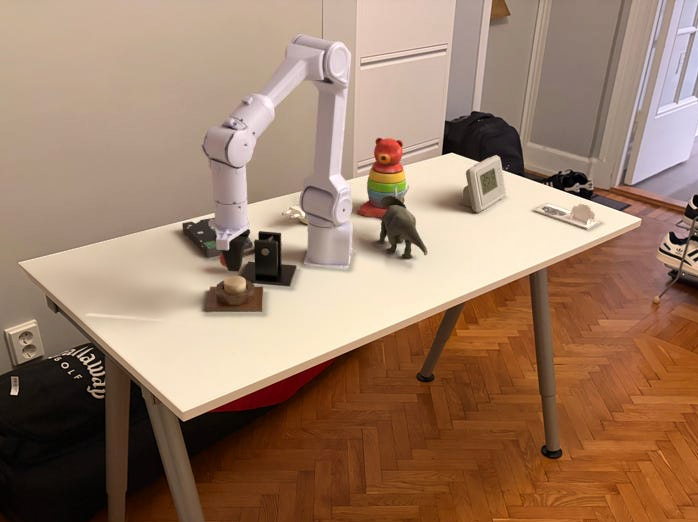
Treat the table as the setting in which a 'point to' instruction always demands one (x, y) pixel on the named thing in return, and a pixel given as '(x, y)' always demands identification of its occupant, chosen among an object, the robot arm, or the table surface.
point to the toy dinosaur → (399, 225)
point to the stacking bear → (384, 176)
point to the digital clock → (484, 184)
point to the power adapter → (296, 213)
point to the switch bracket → (268, 262)
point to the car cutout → (571, 215)
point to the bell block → (235, 299)
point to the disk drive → (205, 237)
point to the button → (234, 284)
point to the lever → (246, 252)
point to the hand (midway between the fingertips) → (234, 269)
